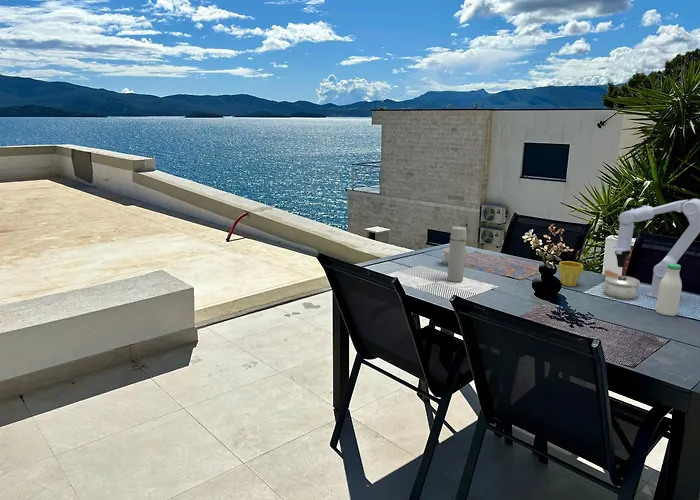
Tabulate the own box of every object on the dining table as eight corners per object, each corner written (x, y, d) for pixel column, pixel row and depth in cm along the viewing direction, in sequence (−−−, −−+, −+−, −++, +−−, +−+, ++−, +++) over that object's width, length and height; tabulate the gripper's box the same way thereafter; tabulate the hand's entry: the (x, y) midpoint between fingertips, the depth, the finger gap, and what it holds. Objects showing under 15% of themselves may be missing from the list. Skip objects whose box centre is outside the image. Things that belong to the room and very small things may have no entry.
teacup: (457, 261, 290) (458, 246, 288) (472, 266, 279) (473, 251, 277) (433, 263, 284) (434, 248, 282) (447, 269, 273) (448, 254, 271)
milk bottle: (676, 317, 213) (685, 268, 208) (654, 313, 217) (662, 265, 212) (677, 312, 219) (686, 264, 214) (655, 308, 223) (663, 260, 218)
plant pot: (582, 288, 247) (585, 267, 245) (558, 286, 249) (561, 265, 247) (578, 282, 257) (580, 261, 255) (555, 280, 259) (557, 260, 257)
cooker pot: (643, 299, 233) (645, 286, 232) (615, 300, 232) (617, 287, 230) (617, 286, 251) (619, 274, 249) (591, 287, 249) (592, 275, 248)
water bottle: (456, 283, 250) (460, 230, 244) (443, 279, 255) (446, 227, 249) (469, 280, 256) (473, 228, 250) (455, 276, 261) (459, 225, 255)
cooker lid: (646, 286, 232) (647, 281, 231) (616, 286, 230) (617, 281, 230) (620, 274, 250) (621, 269, 249) (592, 274, 248) (592, 269, 248)
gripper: (619, 233, 252) (615, 262, 255) (610, 238, 241) (606, 268, 244) (636, 236, 247) (632, 265, 251) (628, 241, 237) (623, 271, 240)
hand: (620, 266), depth 247 cm, fingers closed
